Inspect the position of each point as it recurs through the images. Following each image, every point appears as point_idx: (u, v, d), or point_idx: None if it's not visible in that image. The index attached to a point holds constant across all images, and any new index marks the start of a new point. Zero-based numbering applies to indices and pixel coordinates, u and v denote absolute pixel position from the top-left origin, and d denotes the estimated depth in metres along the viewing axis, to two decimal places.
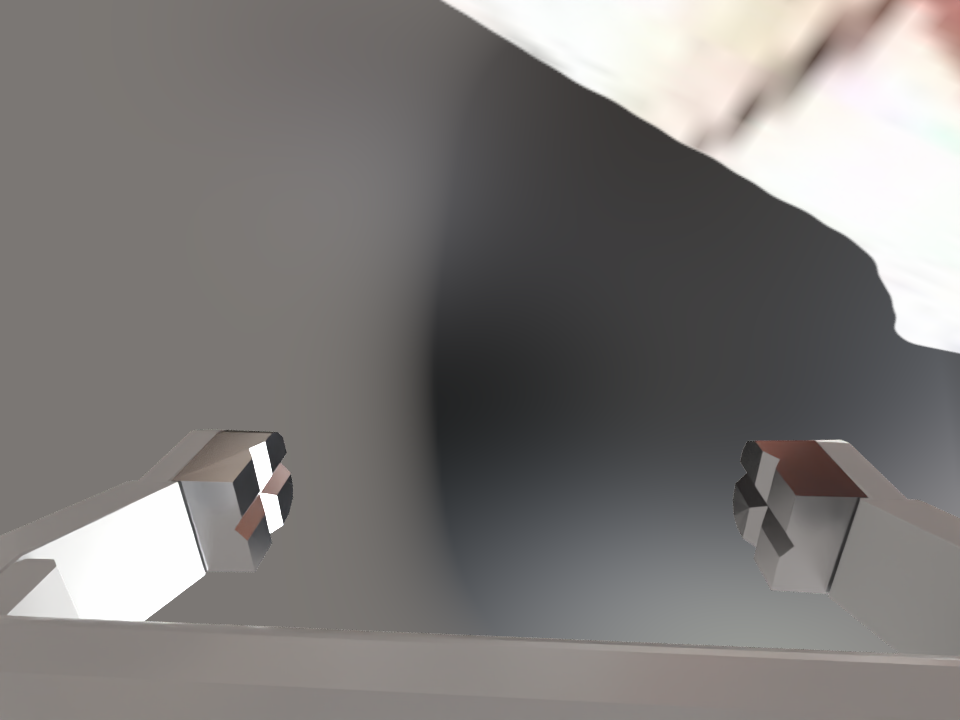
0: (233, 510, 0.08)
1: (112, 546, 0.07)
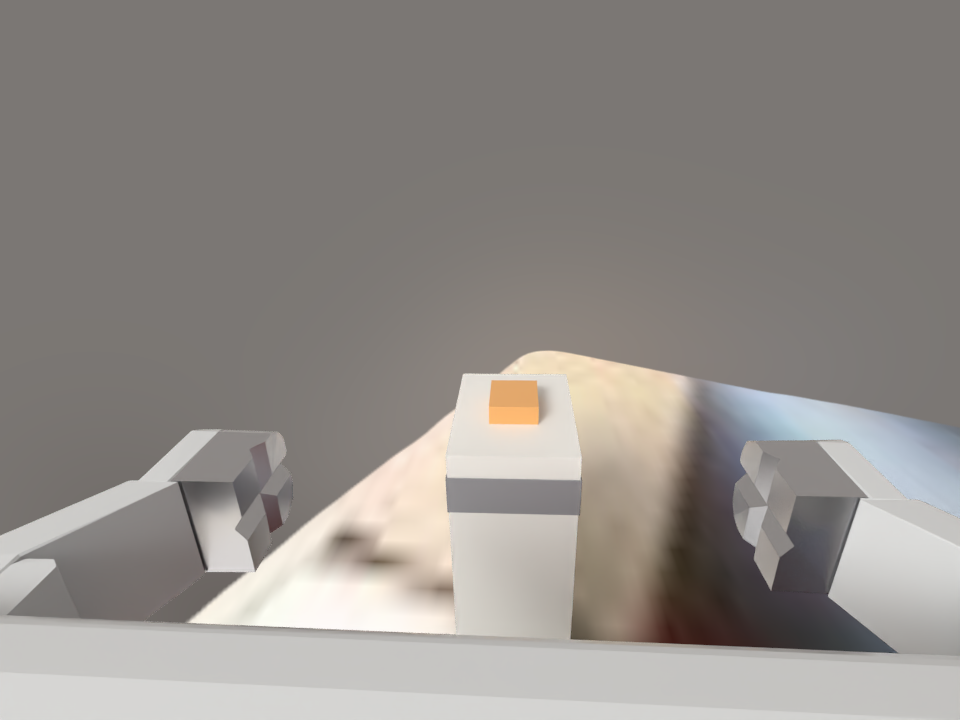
0: (233, 510, 0.08)
1: (112, 546, 0.07)
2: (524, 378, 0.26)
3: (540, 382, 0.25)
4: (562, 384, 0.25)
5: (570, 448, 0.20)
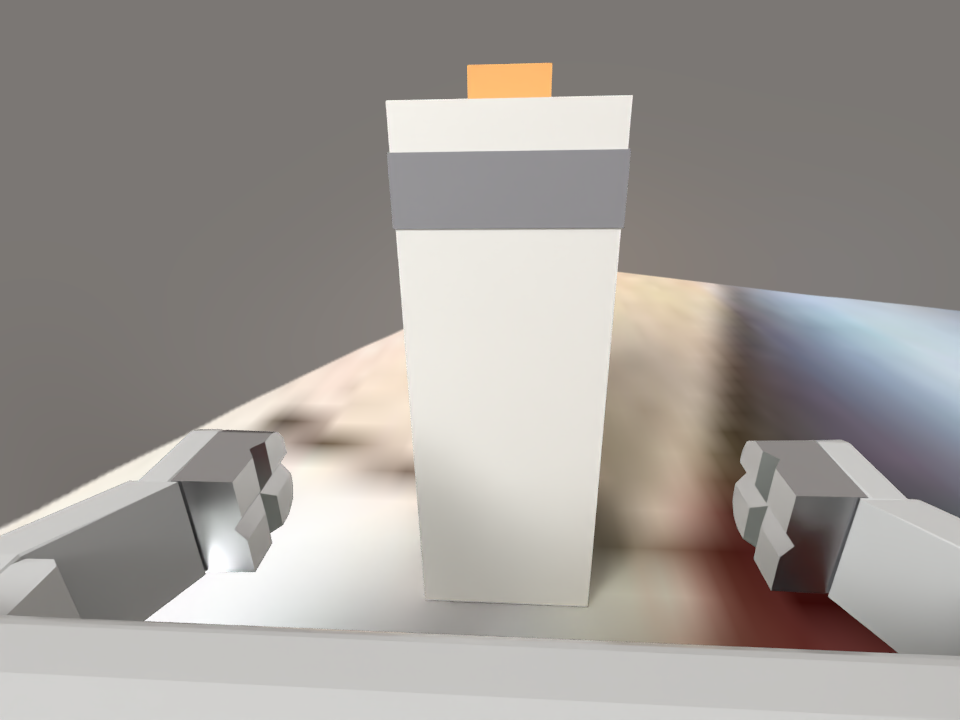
0: (233, 510, 0.08)
1: (112, 546, 0.07)
2: None
3: None
4: None
5: None
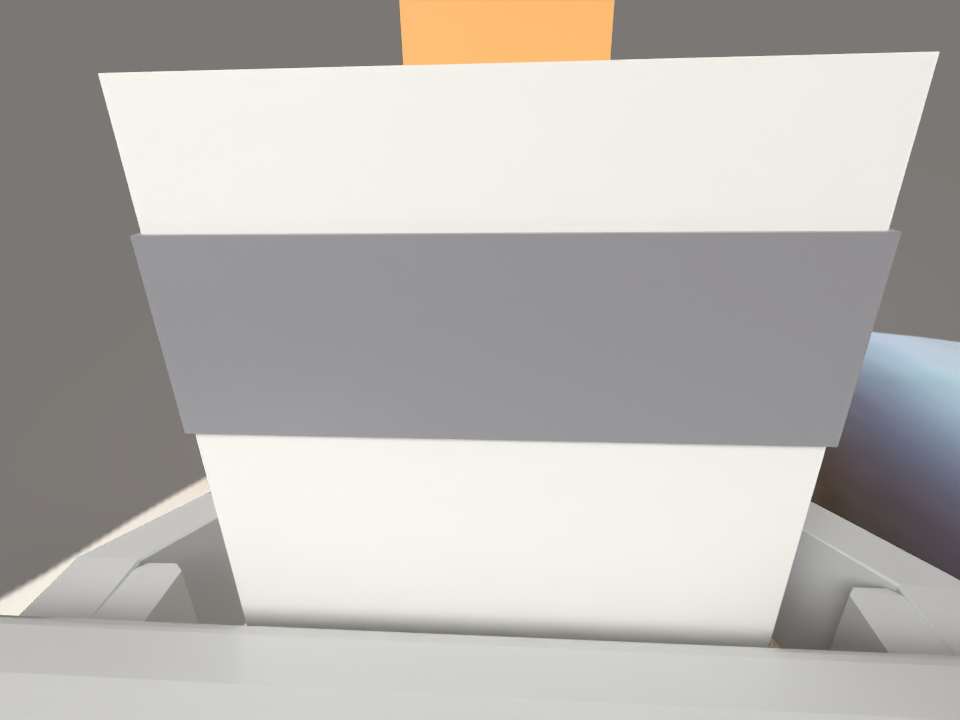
0: None
1: (219, 550, 0.07)
2: None
3: None
4: None
5: None
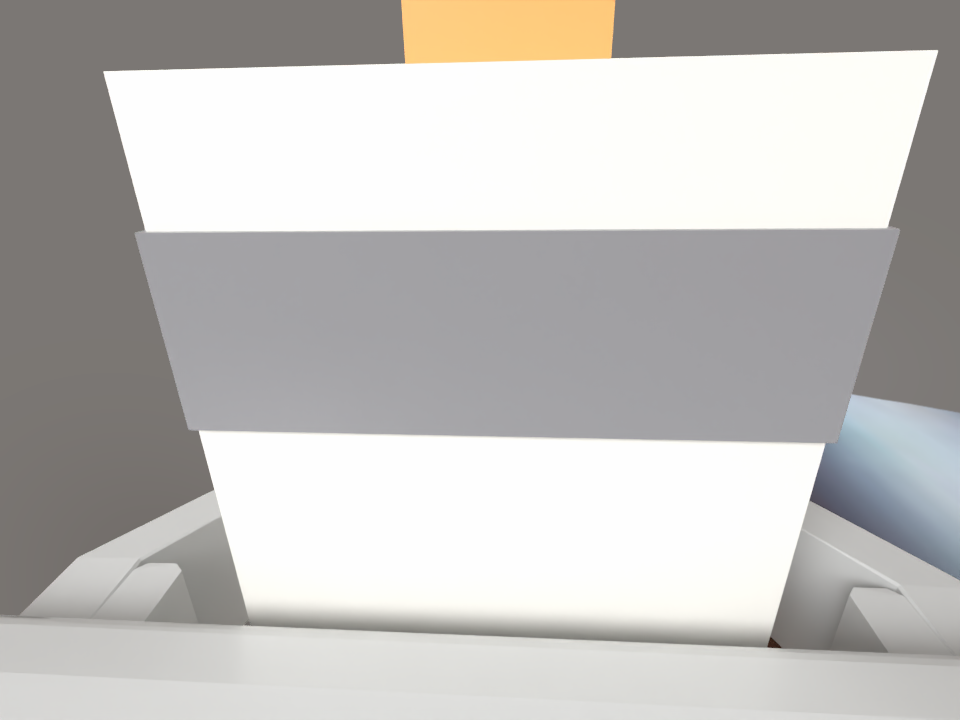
0: None
1: (220, 550, 0.07)
2: None
3: None
4: None
5: None
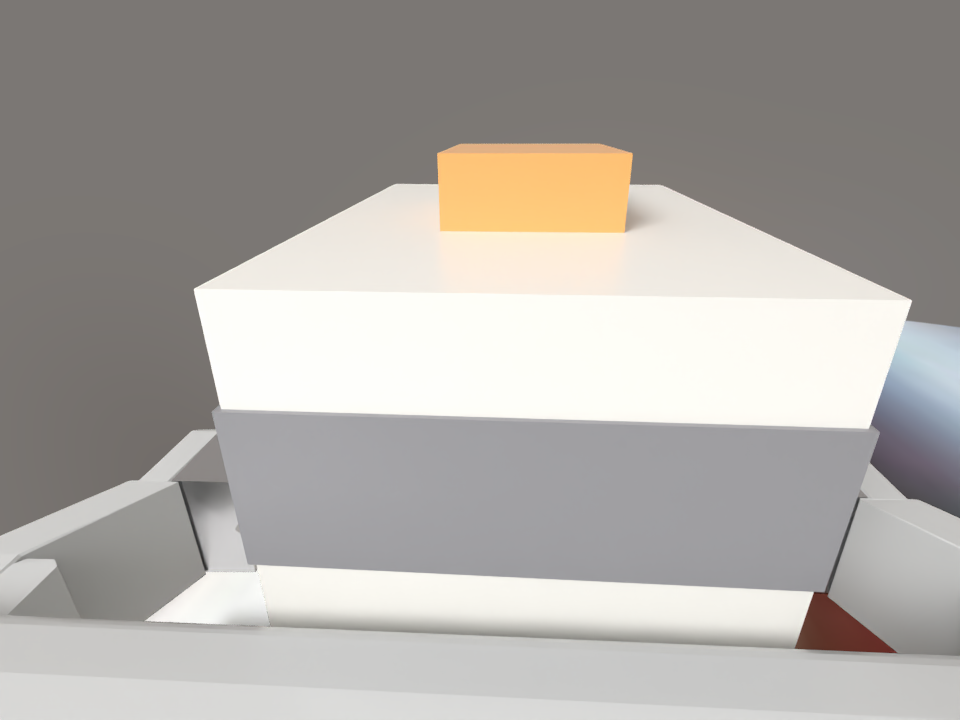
0: (234, 510, 0.08)
1: (112, 546, 0.07)
2: None
3: None
4: (661, 192, 0.09)
5: (812, 275, 0.04)
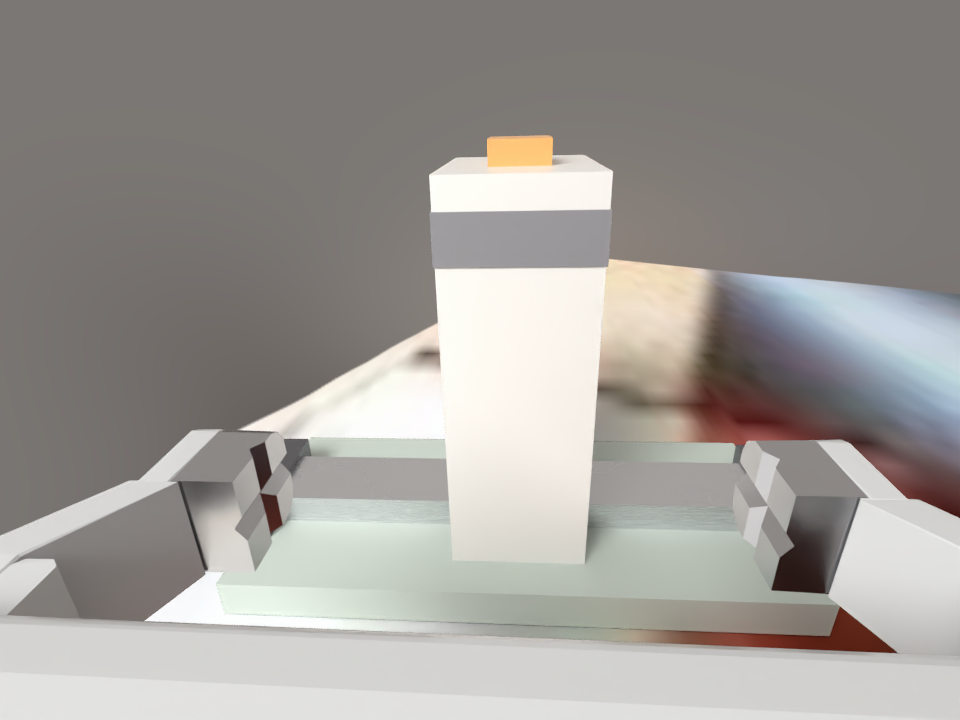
0: (233, 510, 0.08)
1: (112, 546, 0.07)
2: None
3: (552, 157, 0.20)
4: (580, 157, 0.20)
5: (596, 169, 0.15)
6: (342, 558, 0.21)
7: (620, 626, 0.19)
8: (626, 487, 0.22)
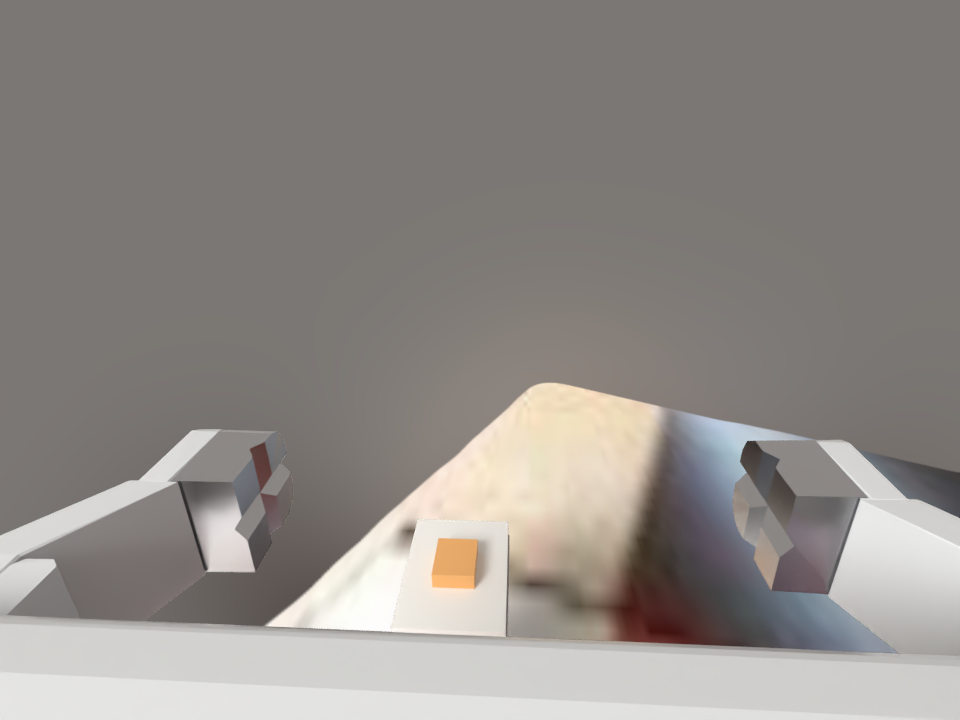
0: (233, 511, 0.08)
1: (112, 546, 0.07)
2: (470, 526, 0.29)
3: (484, 532, 0.29)
4: (502, 535, 0.29)
5: (497, 620, 0.24)
6: None
7: None
8: None
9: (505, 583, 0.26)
